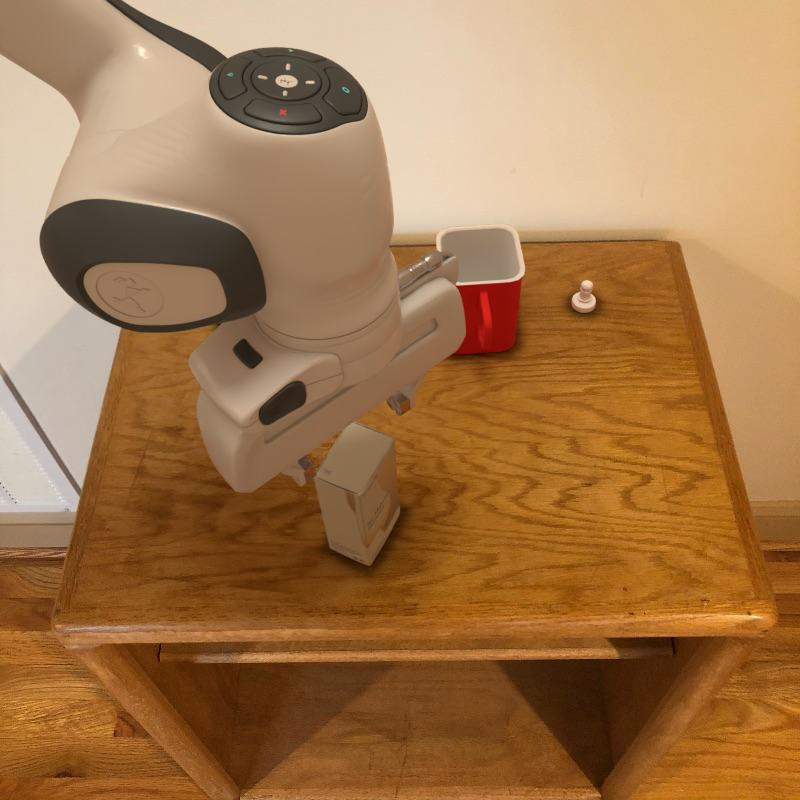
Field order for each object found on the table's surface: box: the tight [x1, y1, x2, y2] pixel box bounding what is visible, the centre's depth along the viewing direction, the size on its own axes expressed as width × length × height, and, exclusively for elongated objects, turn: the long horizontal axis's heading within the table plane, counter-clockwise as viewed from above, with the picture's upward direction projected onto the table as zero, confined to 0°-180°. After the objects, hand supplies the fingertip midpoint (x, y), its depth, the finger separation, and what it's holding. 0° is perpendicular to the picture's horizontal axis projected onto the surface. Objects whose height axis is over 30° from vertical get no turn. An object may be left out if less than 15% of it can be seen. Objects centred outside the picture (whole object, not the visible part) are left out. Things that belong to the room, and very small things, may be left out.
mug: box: [435, 223, 526, 355], centre depth 80 cm, size 12×8×11 cm
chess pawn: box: [571, 279, 597, 314], centre depth 85 cm, size 3×3×4 cm
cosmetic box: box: [313, 420, 401, 567], centre depth 66 cm, size 6×4×12 cm
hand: (353, 440), depth 59 cm, fingers open, 8 cm apart
